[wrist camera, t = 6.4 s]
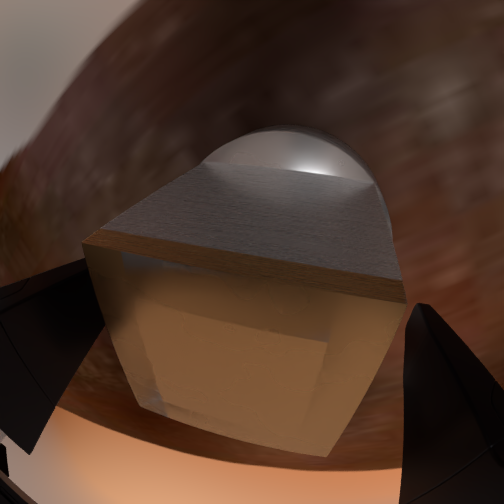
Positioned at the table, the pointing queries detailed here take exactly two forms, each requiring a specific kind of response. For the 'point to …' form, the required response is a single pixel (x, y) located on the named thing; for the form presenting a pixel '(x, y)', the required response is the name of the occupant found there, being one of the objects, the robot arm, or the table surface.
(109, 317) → the grey brown boxy block
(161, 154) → the table surface
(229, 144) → the ratchet
